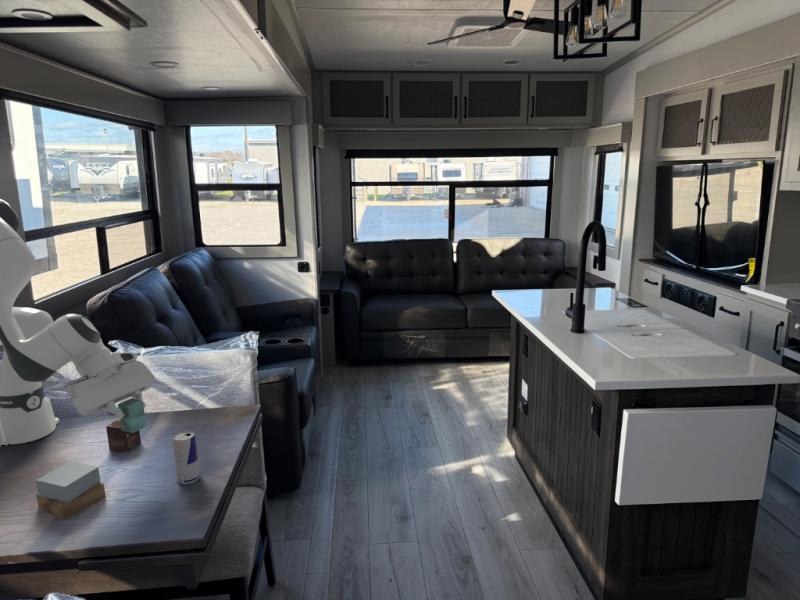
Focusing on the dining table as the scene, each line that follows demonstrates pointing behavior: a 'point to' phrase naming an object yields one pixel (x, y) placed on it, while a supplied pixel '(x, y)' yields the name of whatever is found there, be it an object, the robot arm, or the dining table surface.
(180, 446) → the energy drink
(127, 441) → the box
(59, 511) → the tower base
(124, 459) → the dining table surface
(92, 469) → the tower top
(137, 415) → the block
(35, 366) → the robot arm
